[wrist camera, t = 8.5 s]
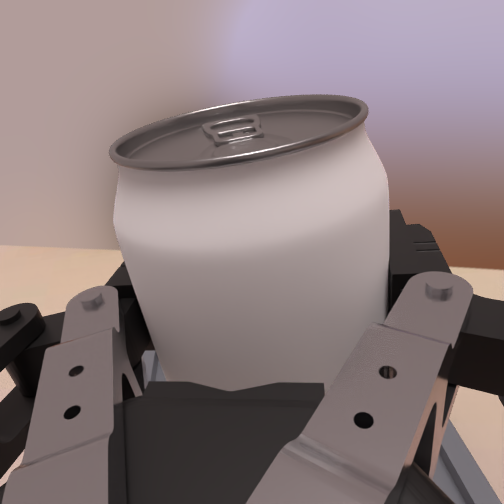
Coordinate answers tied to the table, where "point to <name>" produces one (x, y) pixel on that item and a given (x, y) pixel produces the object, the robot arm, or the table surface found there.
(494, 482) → the table surface
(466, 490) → the tray
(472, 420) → the table surface
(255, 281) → the can
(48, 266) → the table surface
